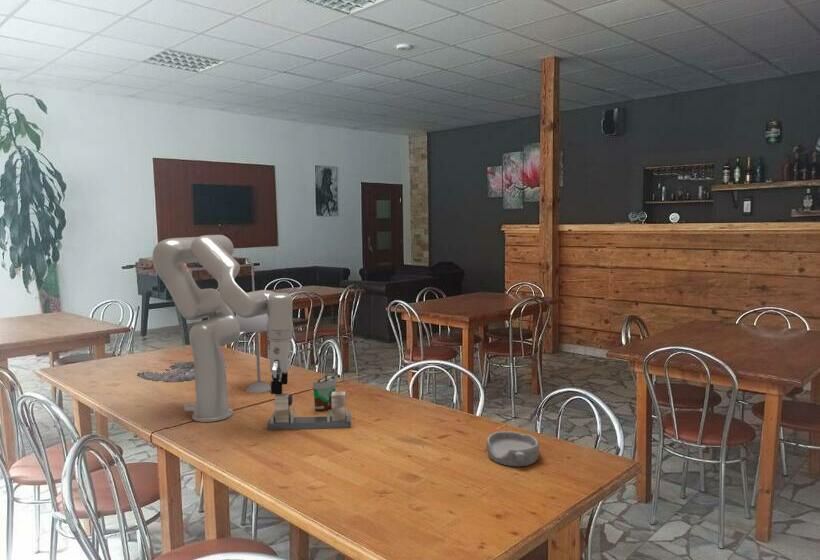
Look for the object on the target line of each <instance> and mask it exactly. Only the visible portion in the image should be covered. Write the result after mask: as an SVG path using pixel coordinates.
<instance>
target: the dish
mask: <svg viewBox="0 0 820 560" xmlns="http://www.w3.org/2000/svg"><path fill="white" fill-rule="evenodd" d="M486 451H487V452H486V453H487V454H488V457H489V458H490V459H491V460H492V461H494V462H496V463H498V464H501V465H504V466H509V467H526V466H529V465H532V464H534V463H535V462H537V460H538V458H539V453H540V445H539V441H538V439H536V437H534V436H533V435H531V434H528V433H527V434H526V433H525V434H523V433H520V432H519V431H509V430H507V431H504V430H503V431H494V432H493V433H491V434H490V435H488V437H487V439H486Z"/></svg>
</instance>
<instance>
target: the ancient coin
mask: <svg viewBox="0 0 820 560" xmlns="http://www.w3.org/2000/svg"><path fill="white" fill-rule="evenodd" d="M176 363H177V364H176ZM172 364H173V363H172ZM174 364H175V365H172V366H170V367H169V368H171V369H172V370H173V371H170V369H165V370H166V371H167V372H166V373H165V372H163V373H162V374H161V373H160V374H159V373H157V372H155V373H154V374H153V372H149V371H147V372H143V373H139V372H138V373H137V375H136V376H137V377H138V376H139V377H138V378H140V377H141V378H140V379H142V378H143V380H147V381H150V380H152V381H151V382H158V381H163V382H162V383H185V382H184V381H187V382H193V381H195V369H194V361H181V362H174ZM175 371H176V372H175ZM170 372H171V373H170ZM172 372H173V373H172ZM192 380H193V381H192Z"/></svg>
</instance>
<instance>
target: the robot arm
mask: <svg viewBox="0 0 820 560" xmlns="http://www.w3.org/2000/svg"><path fill="white" fill-rule="evenodd" d="M234 250H235V248H234V244H233V242H232V240H231V239H230V237H227V236H226V235H224V234H206V235H200V236H191V237H189V236H188V237H171V238H166V239H162V240H161V241H159V242H158V243H157V244H156V245H155V246H154V248H153V250H152V264H153V267H154V270H155V272H156V274H157V276H158V277H159V279H160V280H161V281H162V282H163V284H164V285H165V287H166V288H167V290H168V292H169V294H170V296H171V299H172V300H173V302H174V303H175V306H176V307H177V309H178V311H179V312H180V315H181V316H182V317H183V318H184V319H185V320H187V321H196V320H201V321H198V322H196V323H195V324H194V325H193V326H191V329H190V331H189V337H188V339H189V343H190V346H191V350H192V356H193V362H194V369H195V380H194V383H195V397H196V399H195V400H196V402H194V403H184V405H183V410H184V411H185V412H193V413H192V415H191V418H192V420H193V421H195V422H201V423H211V422H219V421H222V420H226V419H228V418H230V417H232V415H233V414H234V410H233V409H232V408H231V407H229V406H228V388H227V386H228V385H227V368H226V367H227V365H226V360H225V357H224V354H223V352H222V351H221V347H223V346H226V345H230V344H233V343H234V342H236V341H237V340H238V339H239V337H240V336H241V332H240V325H239V322H238V320H237V318H236V315H238V316H240V317H243V318H251V317H255V316H259V315H264V314H267V331H266V340H267V341H269V343H270V344H269V371H270V373H271V379H270V386H271V390H270V394H271V395H276V394H282V393H283V385H288V378H289V377H288V372H289V370H290V369H291V365H292V361H291V359H292V358H291V341H292V340H293V296H292V294H290V293H286V292H275V291H272V290H269V289H268V290H267V289H260V290H254V291H249V292H246V291H245V290H243V289H242V288H241V287H240V285H239V284H237V282H236V281H235V279H236V277H237V276H238V274H239V273H240V269H241V266H240V263H239V262H238V261H237V260H236V259H235V258H234V257H233V254H234ZM192 263H199V264H200V265H201V266H202V267H203V269H204V270H206V272H208V273H209V274H210V275H211V277H212V278H214V279H215V280H216V281H217V289H215V288H211V287H210V288H203V289H202V288H200V287H199V286H198V284H197V282H196V280H195V279H194V277H193V276H192V275H191V273H190V272H188V271H187V270H186V269H185V268H184V267H182V266H181V265H183V264H192ZM207 318H208V319H207ZM202 319H204V320H202ZM290 340H291V341H290Z"/></svg>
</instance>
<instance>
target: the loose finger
mask: <svg viewBox="0 0 820 560" xmlns="http://www.w3.org/2000/svg"><path fill="white" fill-rule="evenodd" d="M274 395H275V396H274V398H273V399H274V412H275V423H285V422H289V421H290V419H291V415H292V413H291V411H292V410H291V409H292V408H291V406H292V404H293V394H291V393H290V392H282V394H274Z"/></svg>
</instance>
